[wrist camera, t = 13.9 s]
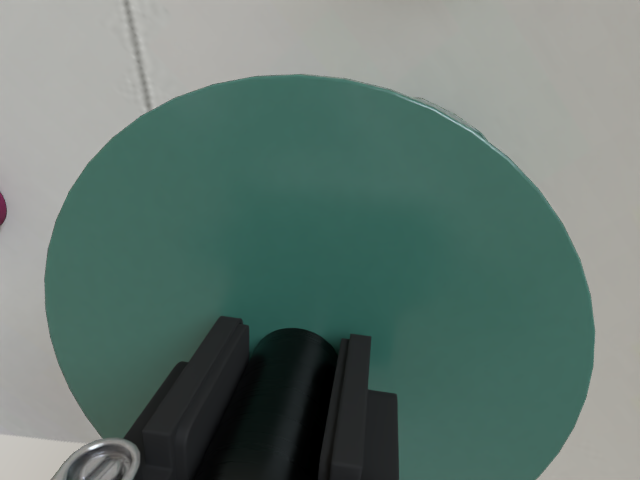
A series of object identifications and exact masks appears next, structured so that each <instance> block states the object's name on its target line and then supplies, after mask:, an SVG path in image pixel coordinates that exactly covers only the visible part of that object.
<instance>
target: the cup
mask: <svg viewBox="0 0 640 480" xmlns="http://www.w3.org/2000/svg"><path fill="white" fill-rule="evenodd" d="M5 217H6V204H5V200H4V198H3V196H2V194H1V193H0V225H1V224H2V223H3V221H4V220H5Z"/></svg>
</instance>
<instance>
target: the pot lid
mask: <svg viewBox="0 0 640 480" xmlns="http://www.w3.org/2000/svg"><path fill="white" fill-rule="evenodd" d="M44 282H45V309H46V315H47V321H48V327H49V333H50V338H51V341H52V344H53V348H54V351H55V354H56V357H57V361H58V364H59V366H60V368H61V371H62V373H63V375H64V377H65V380H66V382H67V384H68V386H69V389H70V391H71V392H72V394H73V396H74V397H75V399H76V401H77V402H78V404H79V406H80V408H81V409H82V411H83V413H84V414H85V416H86V417H87V418H88V420H89V421H90V422H91V424H92V425H93V426H94V428H95V429H96V430H97V432H98V433H99V434H100V436H101V437H102V438H103V439H105V438H124V437H125V435H126V434H127V432H128V431H129V430H130V428H131V427H132V425H133V424H134V423H135V421H136V420H137V418H138V417H139V416H140V414H141V413H142V411H143V410H144V409H145V407H146V406H147V404H148V403H149V402H150V400H151V399H152V397H153V396H154V395H155V393H156V392H157V390H158V389H159V388H160V386H161V385H162V383H163V382H164V381H165V379H166V378H167V377H168V375H169V374H170V372H171V371H172V370H173V368H174V367H175V366H176V365H177V363H179V362H181V361H184V362H189V361H190V359H191V358H192V356H193V355H194V353H195V352H196V350H197V349H198V347H199V346H200V344H201V343H202V342H203V340H204V339H205V337H206V336H207V334H208V333H209V331H210V330H211V328H212V327H213V325H214V324H215V322H216V321H217V319H218V318H219V317H220V316H227V317H234V318H241V319H242V320H243V324H244V325H248V326H249V363H248V366H247V368H246V370H245V372H244V374H243V376H242V378H241V380H240V382H239V384H238V387H237V389H236V391H235V393H234V395H233V397H232V399H231V401H230V403H229V406H228V408H227V410H226V412H225V414H224V416H223V418H222V420H221V422H220V424H219V427H218V429H217V431H216V433H215V435H214V437H213V439H212V441H211V443H210V446H209V448H208V450H207V452H206V454H205V456H204V458H203V460H202V462H201V464H200V467H199V469H198V471H197V473H196V475H195V477H194V479H193V480H318V473H319V464H320V456H321V450H322V444H323V438H324V433H325V427H326V422H327V416H328V410H329V405H330V399H331V394H332V388H333V383H334V377H335V371H336V366H337V360H338V355H339V349H340V343H341V338H345V339H350V334H357V335H365V336H371V350H370V364H369V379H368V389H369V390H375V391H382V392H389V393H395V394H397V401H398V446H399V480H536V479H537V478H538V477H539V476H540V475H541V474H542V473H543V471H544V470H545V469H546V468H547V467H548V465H549V464H550V463H551V462H552V461H553V459H554V458H555V457H556V456H557V455H558V453H559V452H560V450H561V448H562V447H563V445H564V444H565V442H566V440H567V439H568V437H569V435H570V434H571V432H572V430H573V429H574V427H575V424H576V422H577V419H578V417H579V414H580V412H581V410H582V407H583V405H584V402H585V400H586V397H587V392H588V388H589V383H590V379H591V374H592V370H593V362H594V342H595V326H594V318H593V309H592V301H591V294H590V291H589V288H588V284H587V281H586V277H585V274H584V271H583V267H582V264H581V260H580V258H579V256H578V254H577V252H576V250H575V248H574V246H573V243H572V241H571V239H570V237H569V235H568V233H567V231H566V229H565V227H564V225H563V223H562V222H561V220H560V219H559V217H558V216H557V214H556V213H555V212H554V210H553V209H552V207H551V206H550V204H549V203H548V201H547V200H546V199H545V197H544V196H543V194H542V193H541V191H540V190H539V189H538V188H537V187H536V186H535V185H534V184H533V182H532V181H531V180H530V179H529V178H528V177H527V176H526V175H525V174H524V173H523V172H522V171H521V170H520V169H519V168H518V167H517V166H516V165H515V164H514V163H513V161H512V160H511V159H510V158H509V157H507V156H506V155H505V154H503V153H502V152H501V151H500V150H498V149H497V148H496V147H494V146H493V145H492V144H491V143H489V142H488V141H487V140H486V139H484V138H483V137H482V136H480V135H479V134H478V133H477V132H475V131H474V130H473V129H471V128H470V127H468V126H467V125H465V124H463V123H461V122H460V121H458V120H456V119H454V118H453V117H451V116H449V115H447V114H446V113H444V112H442V111H440V110H439V109H437V108H435V107H433V106H432V105H429V104H427V103H424V102H422V101H419V100H417V99H414V98H412V97H409V96H407V95H404V94H402V93H399V92H397V91H394V90H391V89H388V88H384V87H380V86H376V85H372V84H368V83H364V82H360V81H356V80H351V79H347V78H338V77H328V76H318V75H308V74H293V75H270V76H254V77H249V78H243V79H238V80H233V81H228V82H222V83H217V84H213V85H210V86H207V87H204V88H201V89H198V90H195V91H193V92H190V93H187V94H184V95H181V96H178V97H176V98H173V99H172V100H170V101H168V102H166V103H164V104H162V105H160V106H159V107H157V108H155V109H153V110H151V111H149V112H147V113H145V114H144V115H142V116H140V117H139V118H138V119H136V120H135V121H134V122H132V123H131V124H130V125H128V126H127V127H126V128H124V129H123V130H122V131H121V132H119V133H118V134H117V135H115V136H114V137H113V138H112V139H111V140H110V141H109V142H108V143H107V144H106V145H105V146H104V147H103V148H102V149H101V150H100V151H99V152H98V153H97V154H96V155H95V157H94V158H93V159H92V160H91V161H90V162H89V163H88V164H87V166H86V167H85V169H84V170H83V172H82V173H81V175H80V176H79V178H78V179H77V181H76V182H75V184H74V185H73V186H72V188H71V189H70V191H69V193H68V195H67V197H66V200H65V202H64V204H63V206H62V208H61V210H60V213H59V215H58V217H57V219H56V222H55V226H54V229H53V233H52V237H51V240H50V244H49V247H48V253H47V261H46V270H45V279H44Z"/></svg>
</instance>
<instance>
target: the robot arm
mask: <svg viewBox="0 0 640 480" xmlns="http://www.w3.org/2000/svg"><path fill="white" fill-rule="evenodd" d="M370 350H371V336H365V335H357V334H350V339H345V338H341V343H340V349H339V355H338V360H337V366H336V371H335V377H334V383H333V388H332V394H331V399H330V405H329V410H328V416H327V422H326V427H325V433H324V438H323V444H322V450H321V456H320V464H319V473H318V480H399V446H398V401H397V394H395V393H389V392H382V391H375V390H369V389H368V379H369V364H370ZM248 363H249V326H248V325H244V324H243V320H242V319H241V318H234V317H227V316H220V317H219V318H218V319H217V321H216V322H215V324H214V325H213V327H212V328H211V330H210V331H209V333H208V334H207V336H206V337H205V339H204V340H203V342H202V343H201V344H200V346H199V347H198V349H197V350H196V352H195V353H194V355H193V356H192V358H191V359H190V361H189V362H184V361H181V362H179V363H177V365H176V366H175V367H174V368H173V370H172V371H171V372H170V374H169V375H168V377H167V378H166V379H165V381H164V382H163V383H162V385H161V386H160V388H159V389H158V390H157V392H156V393H155V395H154V396H153V397H152V399H151V400H150V402H149V403H148V404H147V406H146V407H145V409H144V410H143V411H142V413H141V414H140V416H139V417H138V418H137V420H136V421H135V423H134V424H133V425H132V427H131V428H130V430H129V431H128V432H127V434H126V435H125V437H124V438H105V439H100V440H96V441H94V442H91V443H89V444H87V445H84V446H83V447H81V448H80V449H78V450H77V451H75V452H74V453H73V454H72V455H71V456H70V457H69V458H68V459H67V460H66V461H65V462H64V463H63V464H62V466H61V467H60V469H59V470H58V471H57V472H56V474H55V475H54V476H53V478H52V479H51V480H193V479H194V477H195V475H196V473H197V471H198V469H199V467H200V464H201V462H202V460H203V458H204V456H205V454H206V452H207V450H208V448H209V446H210V443H211V441H212V439H213V437H214V435H215V433H216V431H217V429H218V427H219V424H220V422H221V420H222V418H223V416H224V414H225V412H226V410H227V408H228V406H229V403H230V401H231V399H232V397H233V395H234V393H235V391H236V389H237V387H238V384H239V382H240V380H241V378H242V376H243V374H244V372H245V370H246V368H247V366H248Z"/></svg>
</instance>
